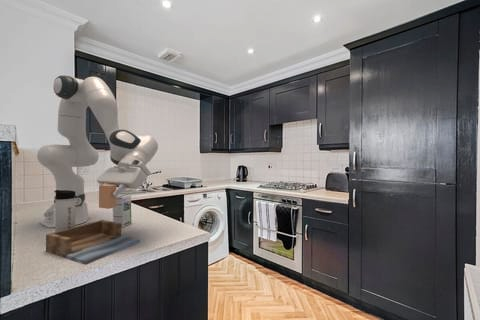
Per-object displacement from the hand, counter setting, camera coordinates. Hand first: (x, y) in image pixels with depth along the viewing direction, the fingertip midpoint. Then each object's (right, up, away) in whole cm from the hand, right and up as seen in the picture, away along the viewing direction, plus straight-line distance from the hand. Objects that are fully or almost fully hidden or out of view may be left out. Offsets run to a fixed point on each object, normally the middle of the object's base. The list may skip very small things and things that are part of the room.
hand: (107, 195), depth 79 cm
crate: (-6, -19, +2) cm, 20 cm away
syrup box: (-10, -19, +28) cm, 35 cm away
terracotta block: (0, -4, 0) cm, 4 cm away
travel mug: (-22, -19, +8) cm, 30 cm away
